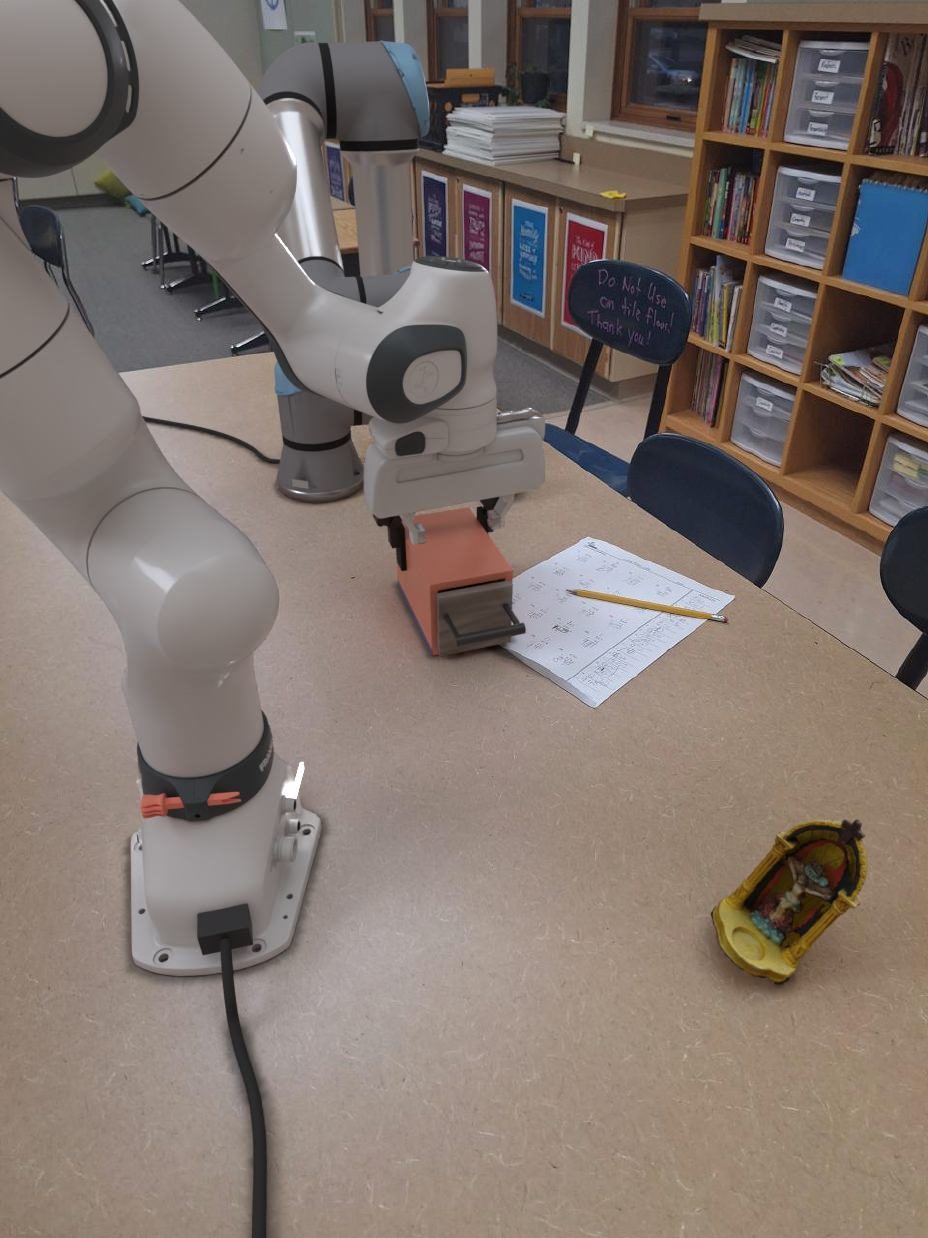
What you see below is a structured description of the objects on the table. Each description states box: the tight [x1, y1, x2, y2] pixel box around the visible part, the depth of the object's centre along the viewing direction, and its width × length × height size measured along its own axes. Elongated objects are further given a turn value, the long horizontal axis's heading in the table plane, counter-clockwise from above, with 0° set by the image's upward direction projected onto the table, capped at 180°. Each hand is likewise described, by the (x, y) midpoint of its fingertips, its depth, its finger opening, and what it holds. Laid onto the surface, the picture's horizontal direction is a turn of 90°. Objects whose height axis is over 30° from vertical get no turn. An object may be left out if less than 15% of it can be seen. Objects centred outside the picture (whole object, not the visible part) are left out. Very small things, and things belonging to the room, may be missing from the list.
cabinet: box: [396, 506, 514, 657], centre depth 116 cm, size 18×11×11 cm, turn 18°
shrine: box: [710, 818, 868, 986], centre depth 72 cm, size 12×8×15 cm
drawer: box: [436, 580, 527, 657], centre depth 112 cm, size 22×10×9 cm, turn 18°
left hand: (457, 534), depth 98 cm, fingers open, 8 cm apart
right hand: (442, 558), depth 119 cm, fingers closed on cabinet, 11 cm apart
